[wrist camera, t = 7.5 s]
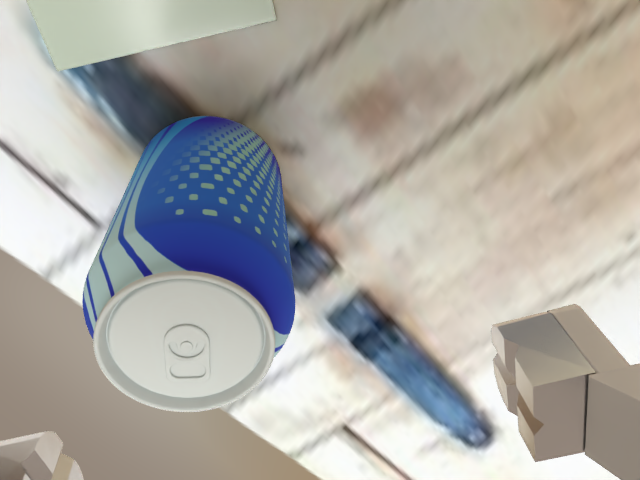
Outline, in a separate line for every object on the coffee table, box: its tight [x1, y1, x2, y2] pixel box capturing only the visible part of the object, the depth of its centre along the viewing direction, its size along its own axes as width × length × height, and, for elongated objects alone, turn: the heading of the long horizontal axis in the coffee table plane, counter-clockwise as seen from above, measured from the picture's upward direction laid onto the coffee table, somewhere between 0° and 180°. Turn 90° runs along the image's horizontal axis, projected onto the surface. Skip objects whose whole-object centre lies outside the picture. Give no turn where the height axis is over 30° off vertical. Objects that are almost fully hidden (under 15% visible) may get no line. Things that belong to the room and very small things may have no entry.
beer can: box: [83, 116, 295, 412], centre depth 28 cm, size 8×8×16 cm
